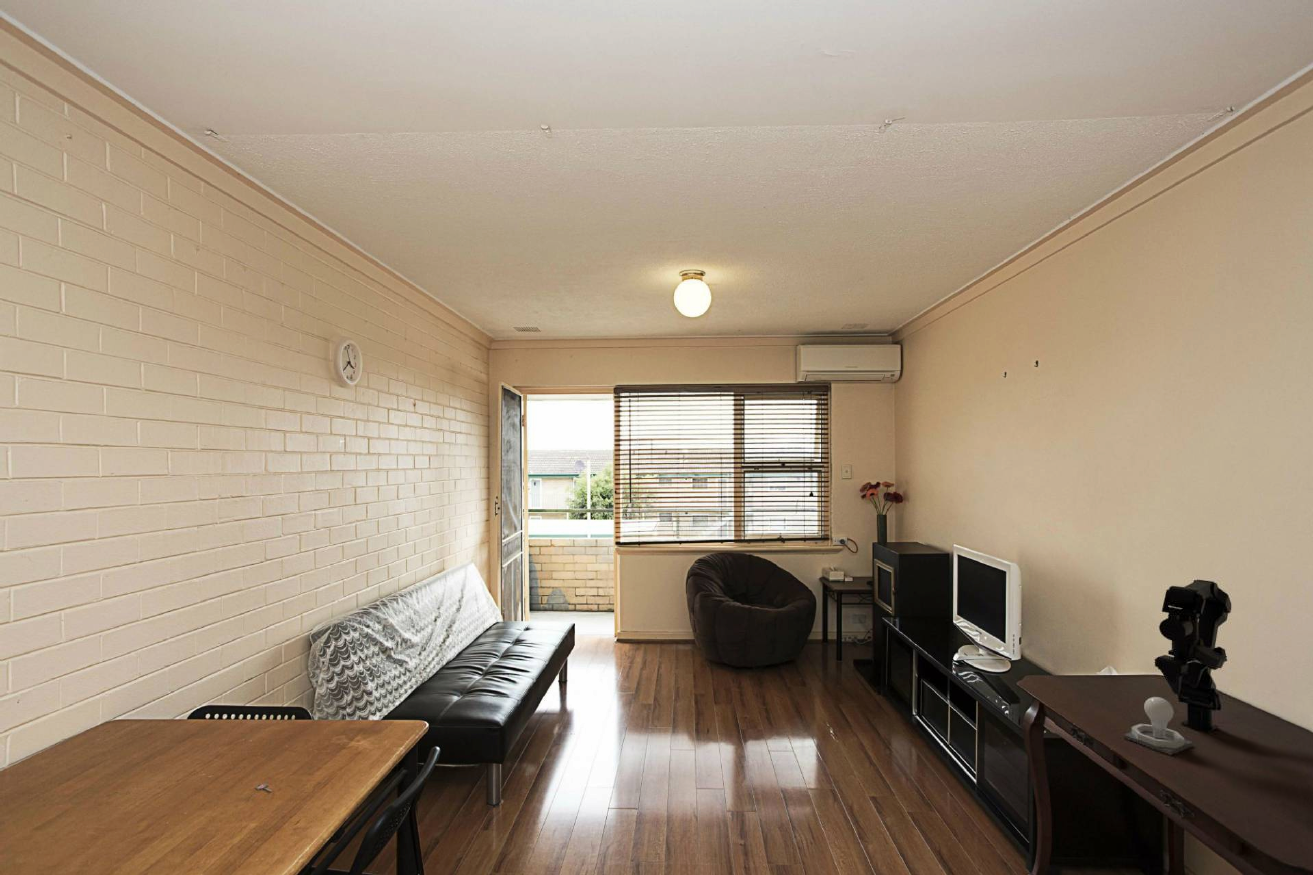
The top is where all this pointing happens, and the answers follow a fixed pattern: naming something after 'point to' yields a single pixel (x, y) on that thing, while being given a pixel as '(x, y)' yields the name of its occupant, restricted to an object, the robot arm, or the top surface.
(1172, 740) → the bulb stand
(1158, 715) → the lightbulb
